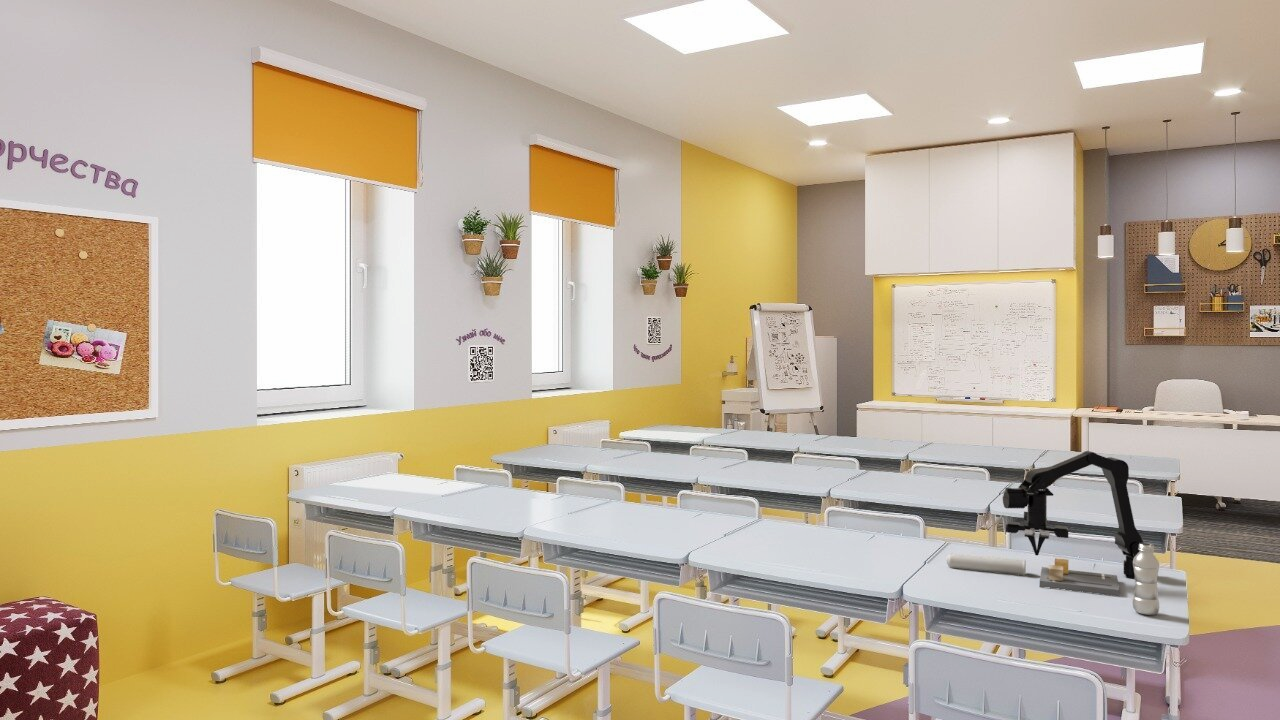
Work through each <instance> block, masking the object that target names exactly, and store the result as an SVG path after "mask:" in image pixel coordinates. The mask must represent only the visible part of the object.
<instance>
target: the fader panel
mask: <svg viewBox="0 0 1280 720" xmlns="http://www.w3.org/2000/svg"><path fill="white" fill-rule="evenodd" d="M1044 587H1050V588H1049V589H1053V588H1059V589H1058V590H1061V589H1065V590H1064V591H1069V590H1072V591H1071V592H1077V591H1081V592H1080V593H1086V592H1092V593H1091V594H1094V593H1099V594H1098V595H1102V594H1104V596H1111V595H1112V596H1111V597H1120V585H1119V579H1118V575H1116V574H1108V573H1099V572H1098V573H1097V572H1092V571H1091V572H1090V571H1084V570H1083V571H1081V570H1073V569H1068V574H1065V573H1063V581H1057V580H1049V567H1046V566H1045V567H1044V566H1042V567H1041V571H1040V576H1039V588H1044ZM1082 591H1083V592H1082Z"/></svg>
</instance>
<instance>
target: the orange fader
mask: <svg viewBox="0 0 1280 720" xmlns="http://www.w3.org/2000/svg"><path fill="white" fill-rule="evenodd" d="M1054 565H1055V566H1063V573H1065V574H1068V570H1069V559H1068V558H1066V559H1065V558H1058V557H1056V558H1055V557H1054Z"/></svg>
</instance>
